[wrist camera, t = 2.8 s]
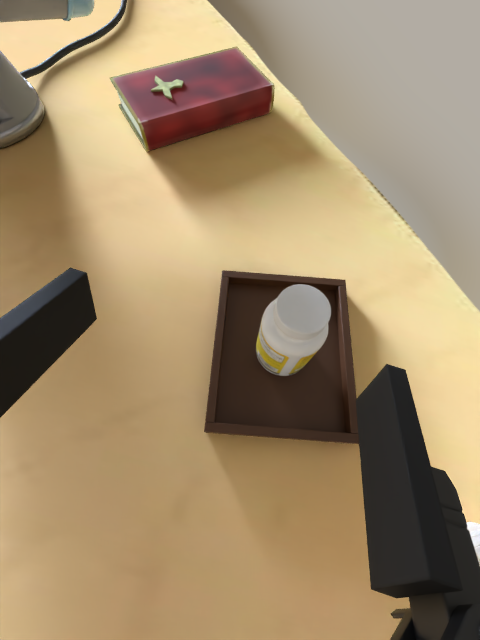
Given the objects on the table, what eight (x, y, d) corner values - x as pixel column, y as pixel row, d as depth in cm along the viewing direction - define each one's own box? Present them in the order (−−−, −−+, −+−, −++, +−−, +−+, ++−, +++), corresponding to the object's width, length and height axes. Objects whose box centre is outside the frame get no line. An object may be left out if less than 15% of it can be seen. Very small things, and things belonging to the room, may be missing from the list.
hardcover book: (271, 114, 45) (275, 83, 41) (147, 153, 41) (138, 122, 37) (236, 75, 49) (236, 44, 45) (119, 107, 45) (109, 75, 41)
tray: (222, 278, 33) (222, 270, 31) (340, 287, 33) (345, 279, 31) (205, 432, 26) (204, 431, 24) (353, 443, 26) (361, 443, 24)
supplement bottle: (307, 328, 30) (340, 279, 21) (307, 379, 28) (344, 348, 19) (256, 323, 30) (267, 272, 21) (253, 374, 28) (264, 340, 19)
